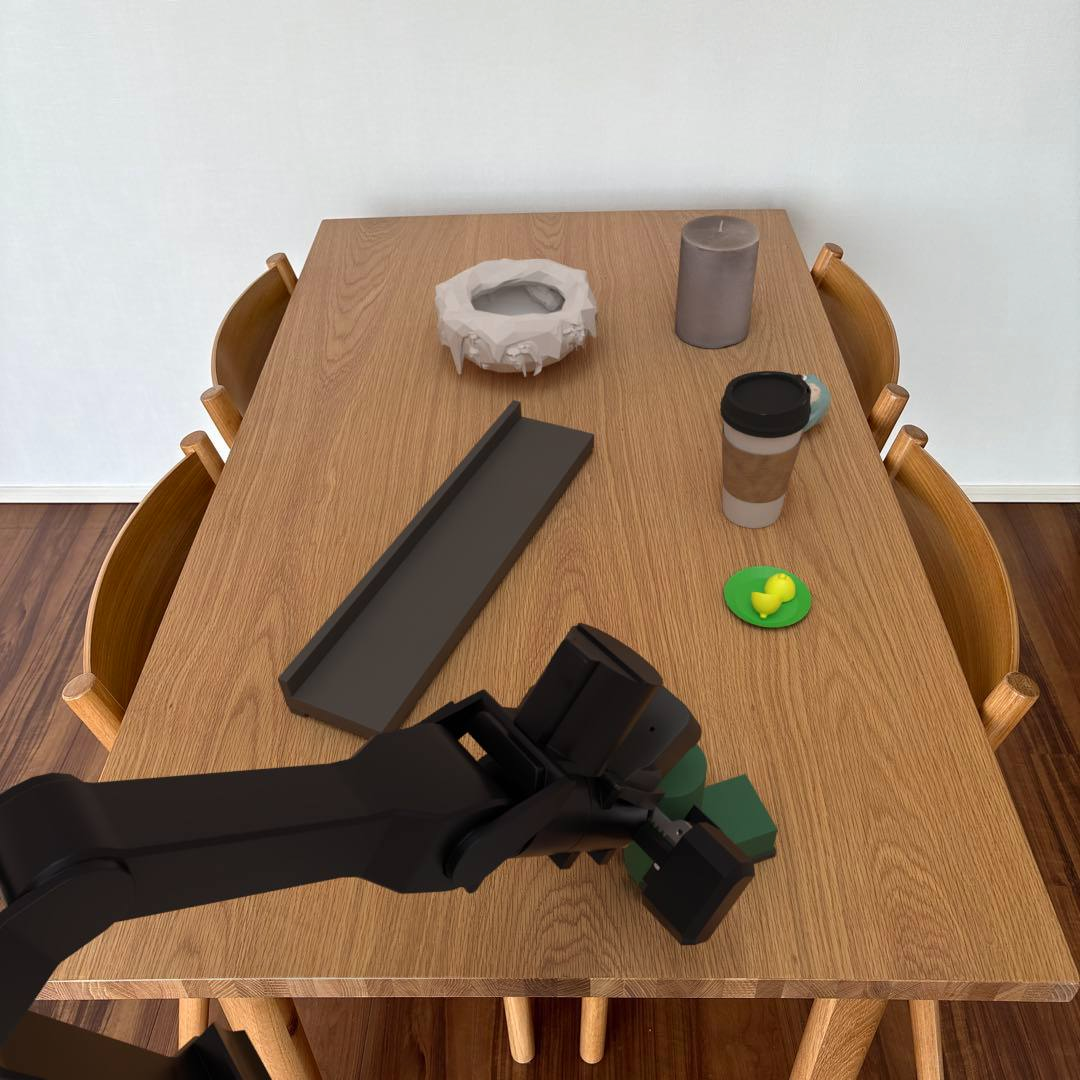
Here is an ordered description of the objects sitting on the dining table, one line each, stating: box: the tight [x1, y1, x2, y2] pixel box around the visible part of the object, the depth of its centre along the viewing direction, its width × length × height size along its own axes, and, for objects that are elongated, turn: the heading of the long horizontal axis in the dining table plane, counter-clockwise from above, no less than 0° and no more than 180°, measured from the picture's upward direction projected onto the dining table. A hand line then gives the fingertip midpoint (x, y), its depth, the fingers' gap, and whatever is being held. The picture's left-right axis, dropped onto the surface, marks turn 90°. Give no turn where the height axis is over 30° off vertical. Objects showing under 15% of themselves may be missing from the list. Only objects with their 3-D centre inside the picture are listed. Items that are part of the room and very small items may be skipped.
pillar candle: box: [674, 214, 761, 350], centre depth 121 cm, size 10×10×15 cm
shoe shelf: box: [277, 399, 595, 741], centre depth 94 cm, size 44×10×4 cm, turn 155°
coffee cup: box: [719, 370, 811, 529], centre depth 95 cm, size 8×8×15 cm
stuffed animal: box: [782, 371, 832, 434], centre depth 109 cm, size 11×7×12 cm
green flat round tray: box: [723, 565, 812, 628], centre depth 89 cm, size 8×8×3 cm
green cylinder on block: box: [622, 743, 779, 893], centre depth 68 cm, size 11×5×12 cm, turn 109°
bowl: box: [433, 257, 599, 378], centre depth 120 cm, size 21×20×10 cm
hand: (677, 800), depth 67 cm, fingers open, 6 cm apart
